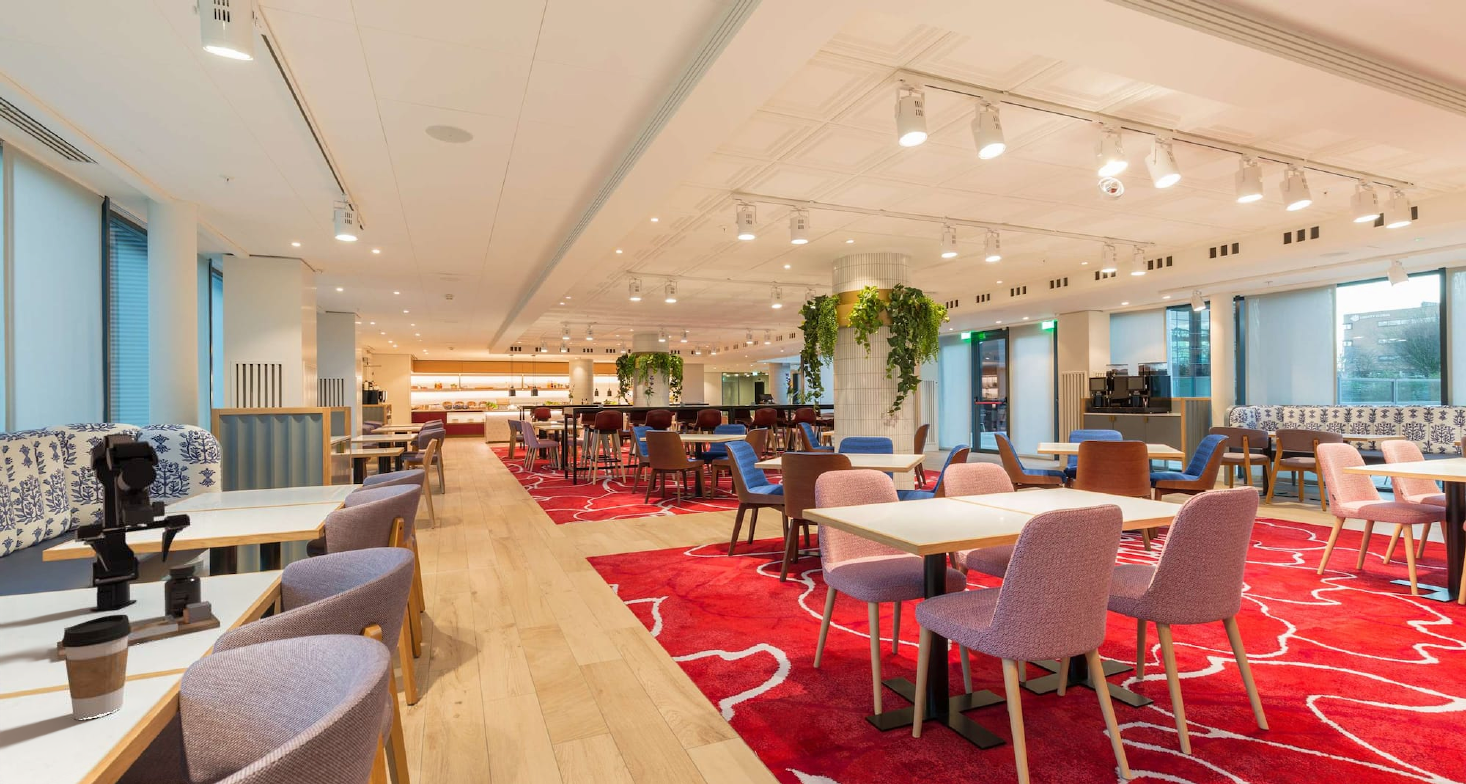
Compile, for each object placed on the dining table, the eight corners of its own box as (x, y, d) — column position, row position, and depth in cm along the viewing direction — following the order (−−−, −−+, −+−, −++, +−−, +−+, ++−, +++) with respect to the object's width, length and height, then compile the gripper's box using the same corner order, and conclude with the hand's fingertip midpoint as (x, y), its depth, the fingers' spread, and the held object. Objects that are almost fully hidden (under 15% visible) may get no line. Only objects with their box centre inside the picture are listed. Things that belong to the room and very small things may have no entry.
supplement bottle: (208, 611, 165) (208, 563, 165) (183, 621, 158) (182, 570, 158) (183, 611, 166) (182, 562, 166) (156, 620, 159) (156, 570, 159)
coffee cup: (144, 704, 114) (143, 616, 114) (82, 728, 106) (81, 633, 106) (112, 698, 117) (111, 612, 117) (50, 720, 109) (49, 628, 109)
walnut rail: (210, 616, 161) (210, 597, 161) (220, 626, 154) (219, 606, 154) (57, 647, 142) (56, 625, 142) (59, 661, 135) (59, 637, 135)
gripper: (78, 495, 138) (82, 572, 136) (193, 485, 153) (197, 554, 150) (73, 504, 146) (76, 577, 143) (182, 493, 160) (187, 559, 157)
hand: (136, 566), depth 148 cm, fingers open, 9 cm apart
